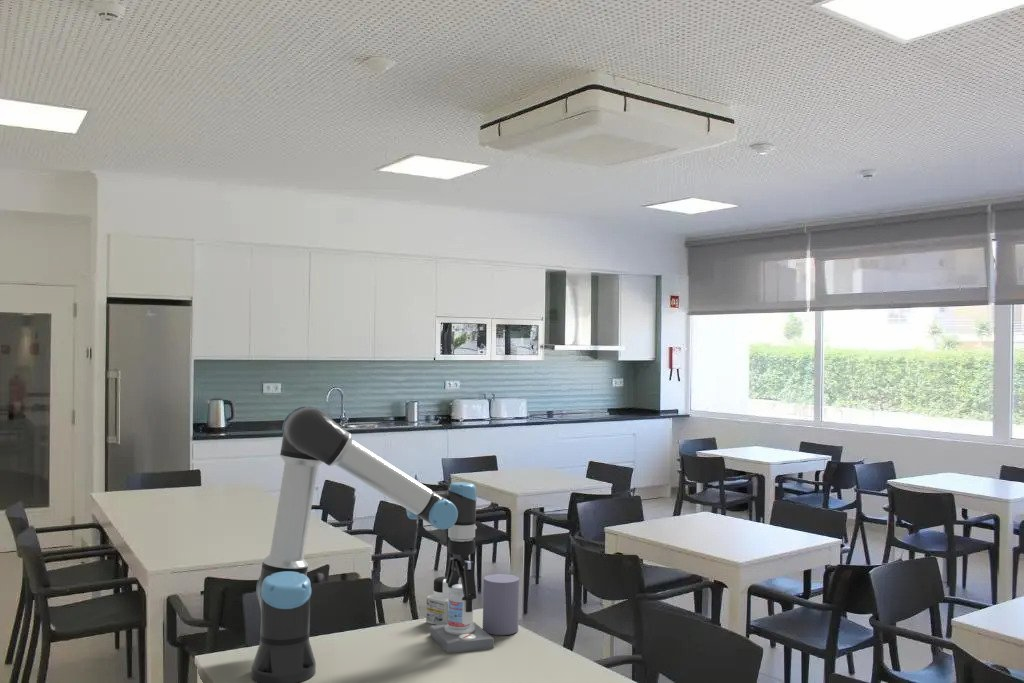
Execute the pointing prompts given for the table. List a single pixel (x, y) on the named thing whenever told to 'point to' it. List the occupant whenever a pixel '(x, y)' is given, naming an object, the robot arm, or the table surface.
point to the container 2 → (501, 604)
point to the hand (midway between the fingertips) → (459, 617)
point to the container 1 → (438, 603)
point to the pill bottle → (456, 608)
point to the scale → (461, 638)
